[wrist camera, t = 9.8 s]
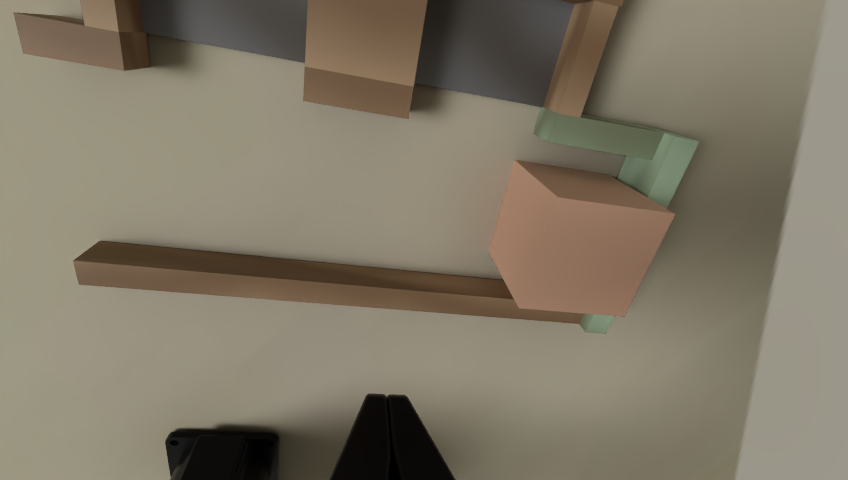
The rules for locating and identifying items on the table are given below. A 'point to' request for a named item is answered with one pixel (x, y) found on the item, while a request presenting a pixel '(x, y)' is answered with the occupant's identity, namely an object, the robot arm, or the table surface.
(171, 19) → the trap lane
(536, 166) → the block
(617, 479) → the table surface
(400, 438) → the robot arm
